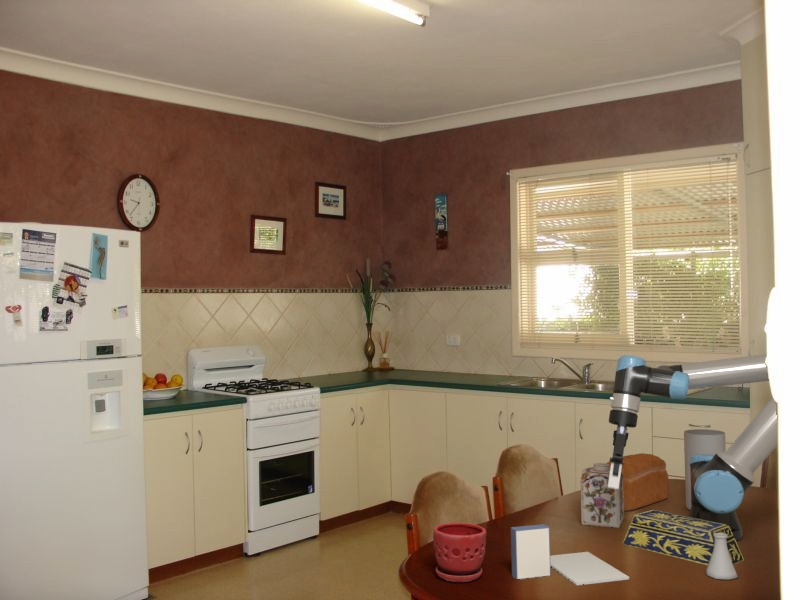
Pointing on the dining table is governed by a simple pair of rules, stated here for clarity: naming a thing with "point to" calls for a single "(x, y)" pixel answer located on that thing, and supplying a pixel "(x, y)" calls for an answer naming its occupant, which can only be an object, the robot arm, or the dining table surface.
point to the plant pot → (459, 551)
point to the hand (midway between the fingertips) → (612, 488)
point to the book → (530, 551)
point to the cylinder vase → (700, 450)
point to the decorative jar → (601, 498)
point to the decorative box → (679, 536)
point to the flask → (720, 560)
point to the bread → (643, 480)
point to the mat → (585, 568)
